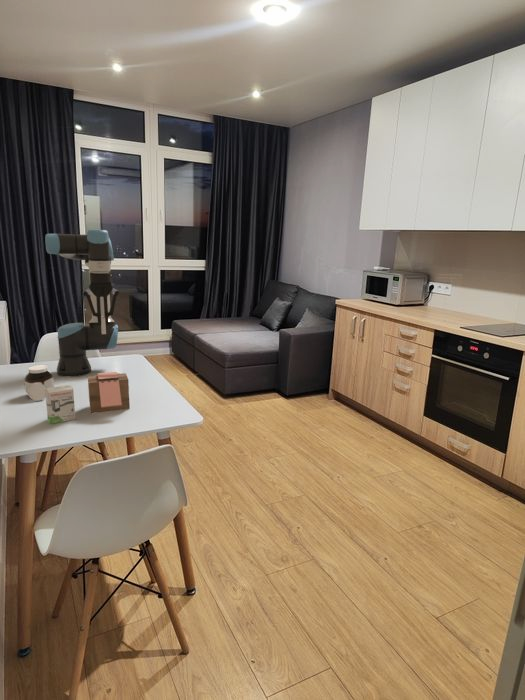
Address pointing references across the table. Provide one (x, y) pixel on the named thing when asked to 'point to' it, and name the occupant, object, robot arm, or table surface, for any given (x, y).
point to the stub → (110, 393)
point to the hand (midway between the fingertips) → (103, 333)
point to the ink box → (60, 404)
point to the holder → (95, 392)
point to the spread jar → (38, 382)
